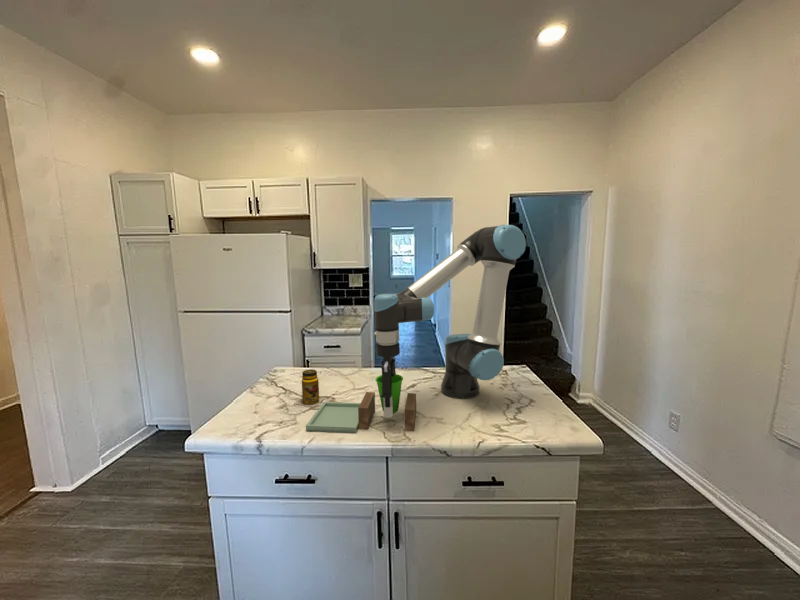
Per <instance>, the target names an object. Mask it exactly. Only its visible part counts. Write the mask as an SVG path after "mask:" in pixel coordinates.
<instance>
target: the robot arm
mask: <svg viewBox="0 0 800 600" xmlns="http://www.w3.org/2000/svg"><path fill="white" fill-rule="evenodd" d="M526 242H527V241H526V238H525V235H524V233H523V232H522V230H521V229H520V228H519V227H518V226H516V225H513V224H500V225H496V226H495V225H494V226H485V227H482V228H480V229H478V230H476V231H474V232H473V233H472V234H470V235H469V236H468V237H466V238H465V239H464V240H463V241H461V242H460V243H459V244H457V246H456V250H454V251H453V252H452V253H450V254H449V255H448V256H446V257H445V258H444V259H442V261H440V262H439V263H438V264H436V265H434V267H433V268H431V269H429V271H427V272H426V273H425V274H423V275H422V276H420V277H419V278H418V279H417V280H416V281H414V282H413V283H412V284H410V285H409V286H408V287H406V288H405V289H403V290H402V291H401V292H397V293H383V294H378V295H376V296H375V297H374V299H373V300H374V303H373V305H374V308H373V311H374V324H375V325H374V327H375V332H374V333H373V335H374V336H375V341H376V344H375V345H376V346H375V348H376V349H375V352H376V353H375V354H376V355H377V356H378V357H381V358H382V361H381V365H380V368H381V375H382V395H381V397H382V398H383V401H384V412H383V416H384V417H393V416H394V413H393V404H392V394H391V387H392V385H391V383H392V376H394V374H397V373H396V358H395V357H397V356H399V355H400V352H401V348H400V343H399V342H400V324H403V323H412V322H413V323H415V322H424V321H428V320H431V319H433V317H434V315H435V305H434V302H433V300H432V299H431V298H430V297H431V296H432V295H433V294H434V293H436V292H437V291H438V290H440V289H441V288H442V287H443V286H445V285H446V284H447V283H448V282H450V281H451V280H453V278H455V277H456V276H457V275H458V274H460V273H461V272H462V271H463V270H465V269H466V268H468V267H469V266H474V265H476V264H477V263H478V262H481V264H482V266H483V272H482V273H483V274H482V278H481V285H480V291H479V295H478V300H477V301H478V302H477V306H476V313H475V316H474V322H473V329H472V333H455V334H448V335H447V336H446V337H445V343H444V345H445V373H444V375H443V378H442V381H441V385H440V390H441V393H442V394H443V395H445V396H447V397H450V398H454V399H470V398H471V399H472V398H475V397H477V396H478V395H480V384H479V380H481V381H490V380H492V379H495V378H496V377H497V376H498V375H499V374H500V373H501V372H502V370H503V368H504V364H505V360H504V357H503V354H502V352H501V351H500V347H501V342H500V340H499V339H498V334H499V329H500V323H501V318H502V311H503V307H504V301H505V296H506V292H507V286H508V280H509V275H510V272H511V270H512V269H513V268H515V266H516V263H517V259H519V258H521V256H523V254H524V253H525V251H526V247H527V243H526Z"/></svg>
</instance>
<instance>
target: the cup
mask: <svg viewBox="0 0 800 600" xmlns="http://www.w3.org/2000/svg"><path fill="white" fill-rule="evenodd" d="M403 380H404V377H403V376H402V375H400V374H397V373H396V374H394V376H392V383H391V385H392V387H391V394H392V404H393V414H395V413H397V412H398V411H399V407H400V401H401V391H402V384H403V383H402V382H403ZM375 382H376V386H377V390H378V395H379V398H380V403H381V409H382V412H383V413H384V401H383V398H382V397H381V395H382V374H381V375H378V376H377V377H376V378H375Z"/></svg>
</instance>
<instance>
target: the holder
mask: <svg viewBox="0 0 800 600" xmlns="http://www.w3.org/2000/svg"><path fill="white" fill-rule="evenodd" d="M375 394H376V393H375V391H366V392H365V394H364V396H363V397H362V399H361V402H359V403H360V405H359V407H358V420H359V428H358V430H369V428H370V425H371V423H372V421H373V418H374V415H375V413H376V395H375ZM404 404H405V405H404V410H403V411H404V413H403V414H404V431H405V432H415V428H416V419H417V414H418V413H417V411H418V410H417V409H418V408H417V393H415V392H414V393H413V392H411V393H409V392H408V393H407V395H406V400H405V403H404Z"/></svg>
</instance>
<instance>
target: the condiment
mask: <svg viewBox="0 0 800 600" xmlns="http://www.w3.org/2000/svg"><path fill="white" fill-rule="evenodd" d="M301 374H302V376H301V377H302V378H301V395H302V398H301V399H299V400H298V401H296V402H295V403H294V405H299V406H304V407H305V406H306V407H313V408H314V407H315V406H317V405H318V404H320V403H321V402H322V401H323V400H324V398H320V391H319V390H320V385H319V378H318V371H317V370H316V369H313V368H312V369H305V370H303V371H302V373H301Z"/></svg>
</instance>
